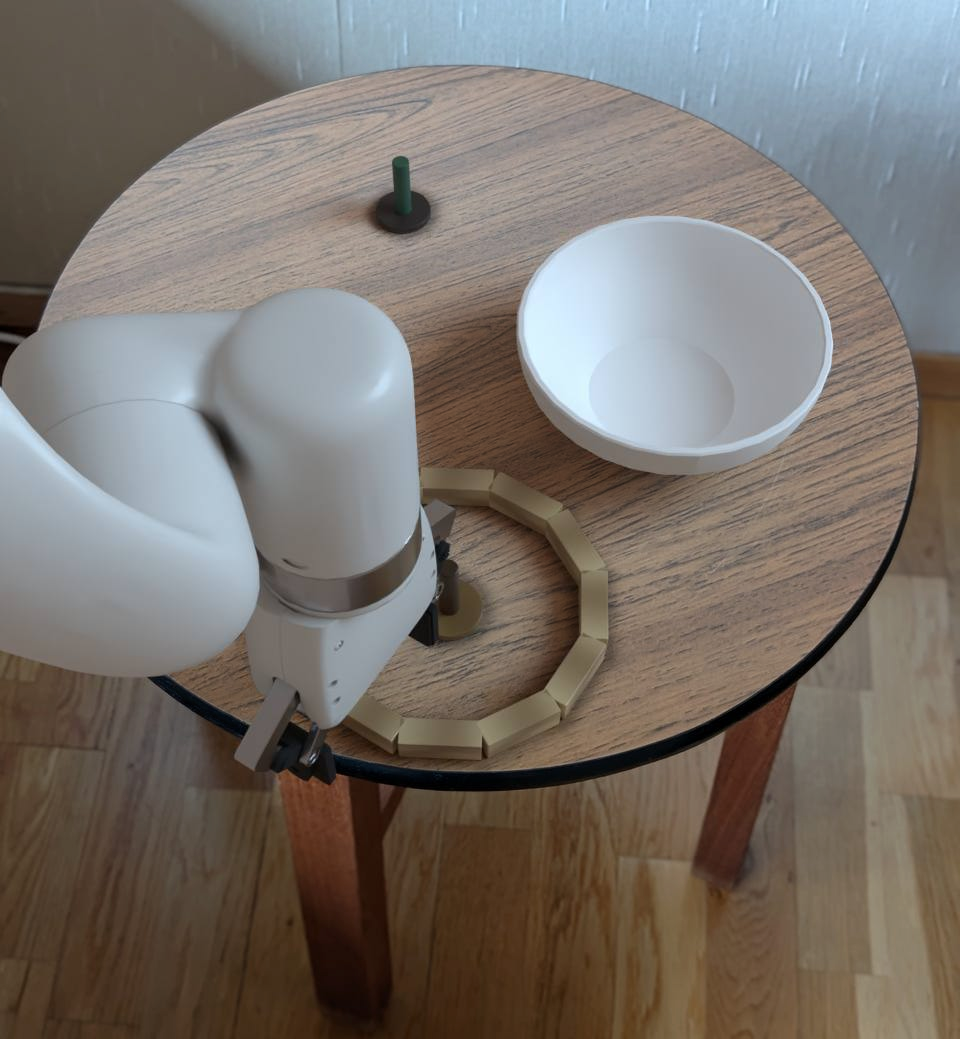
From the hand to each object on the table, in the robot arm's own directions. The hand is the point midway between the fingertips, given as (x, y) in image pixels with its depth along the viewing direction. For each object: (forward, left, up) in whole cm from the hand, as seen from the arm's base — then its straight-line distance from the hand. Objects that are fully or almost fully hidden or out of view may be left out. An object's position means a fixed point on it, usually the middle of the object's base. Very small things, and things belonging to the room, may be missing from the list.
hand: (362, 697), depth 73 cm
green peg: (+35, +21, -3) cm, 41 cm away
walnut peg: (+9, 0, -3) cm, 9 cm away
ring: (+8, 0, -3) cm, 9 cm away
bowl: (+30, -3, -3) cm, 30 cm away
